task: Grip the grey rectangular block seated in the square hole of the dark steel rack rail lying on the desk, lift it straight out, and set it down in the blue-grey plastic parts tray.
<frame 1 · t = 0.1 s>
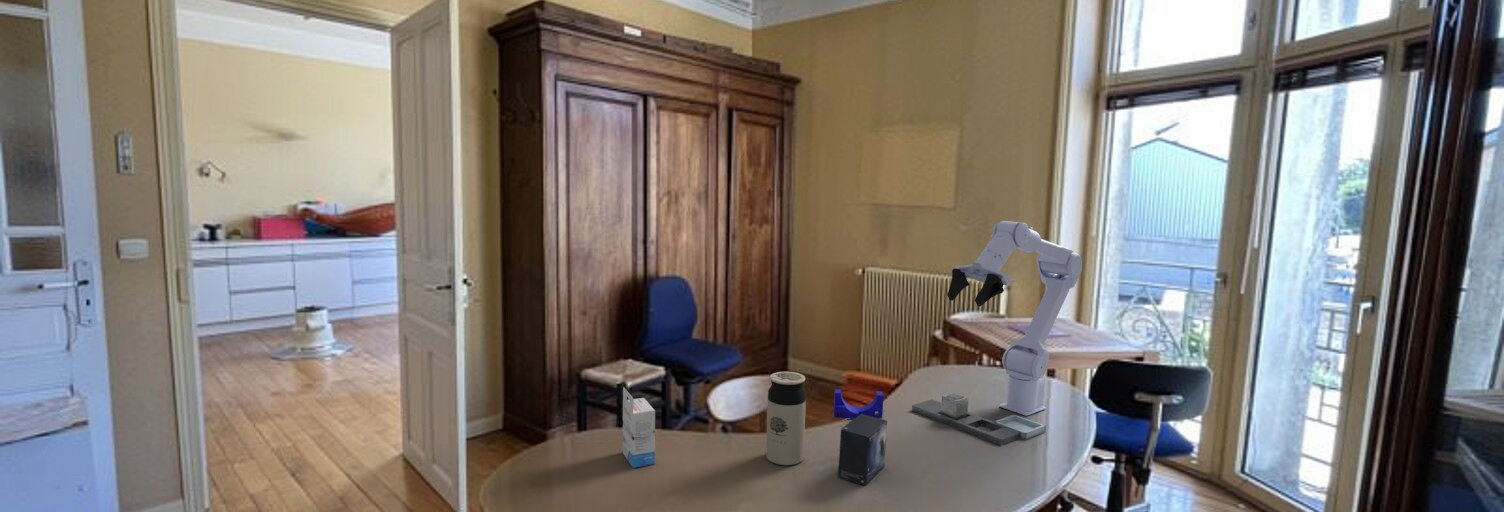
hand: (963, 300, 154), 32 cm above the table, tool tilted 50°, fingers open, 7 cm apart
travel mug: (784, 459, 142), on the table
rack rail: (963, 423, 164), on the table
ink box: (638, 459, 140), on the table
grey rectangular block: (953, 419, 166), resting in rack rail
blue cradle stand: (857, 416, 167), on the table
small box: (862, 473, 136), on the table
parts tray: (1019, 429, 160), on the table
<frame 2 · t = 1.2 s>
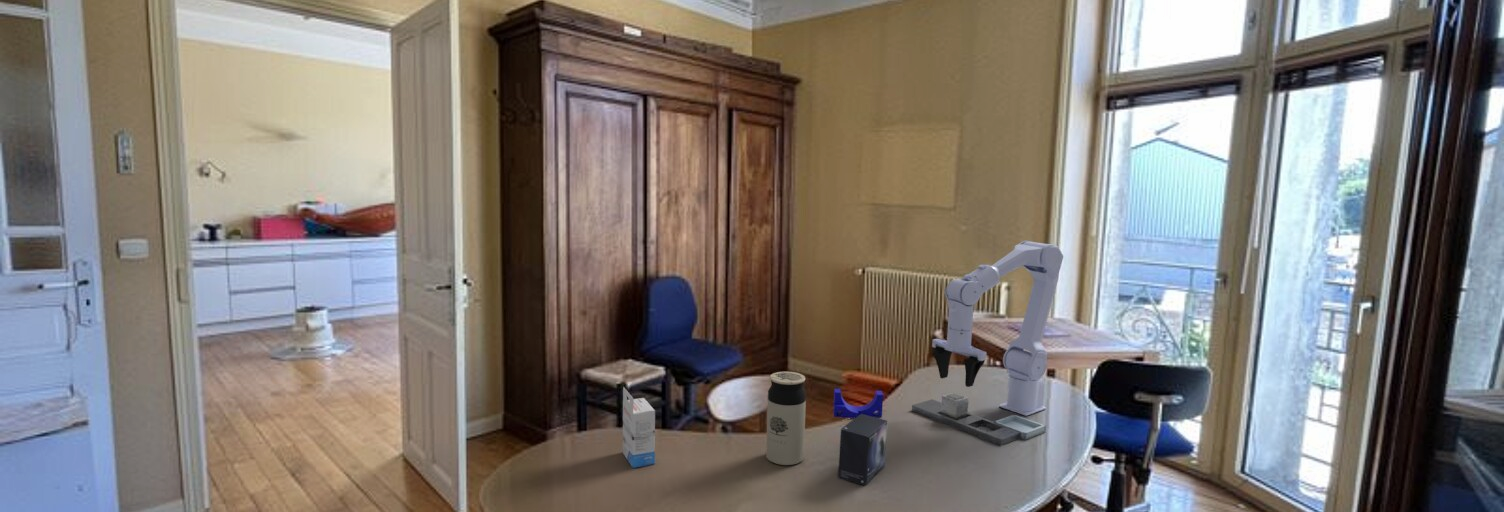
hand: (956, 381, 165), 10 cm above the table, tool pointing down, fingers open, 7 cm apart
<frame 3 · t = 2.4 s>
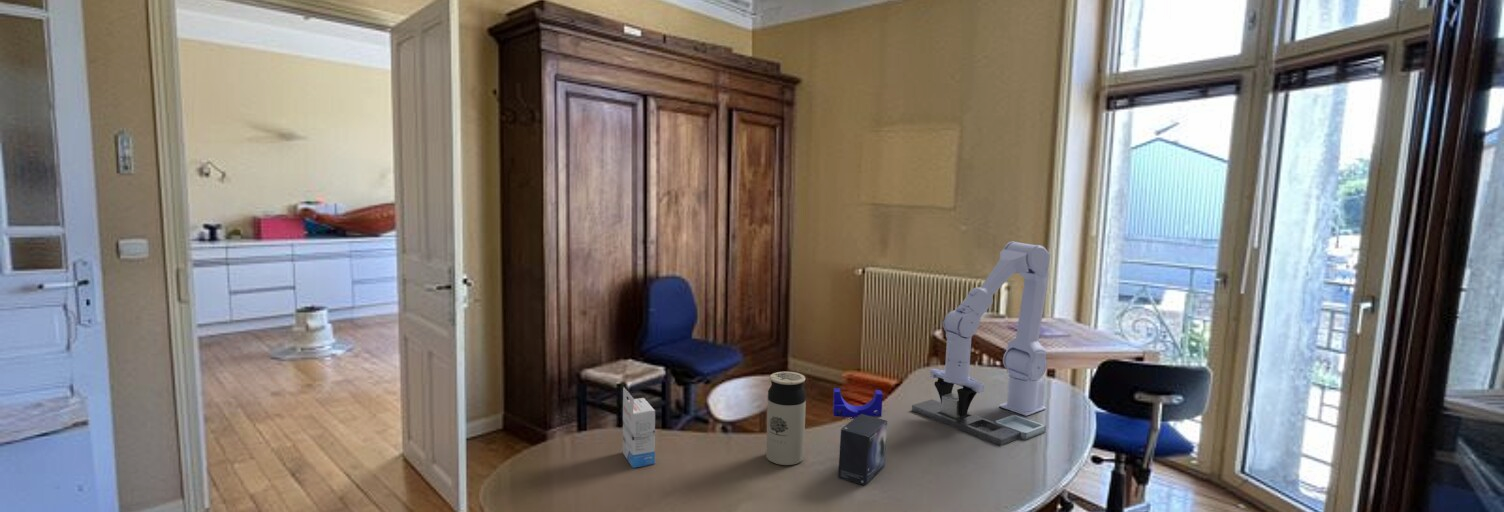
hand: (954, 412, 166), 2 cm above the table, tool pointing down, fingers closed on grey rectangular block, 4 cm apart
grey rectangular block: (953, 419, 166), resting in rack rail, touching gripper
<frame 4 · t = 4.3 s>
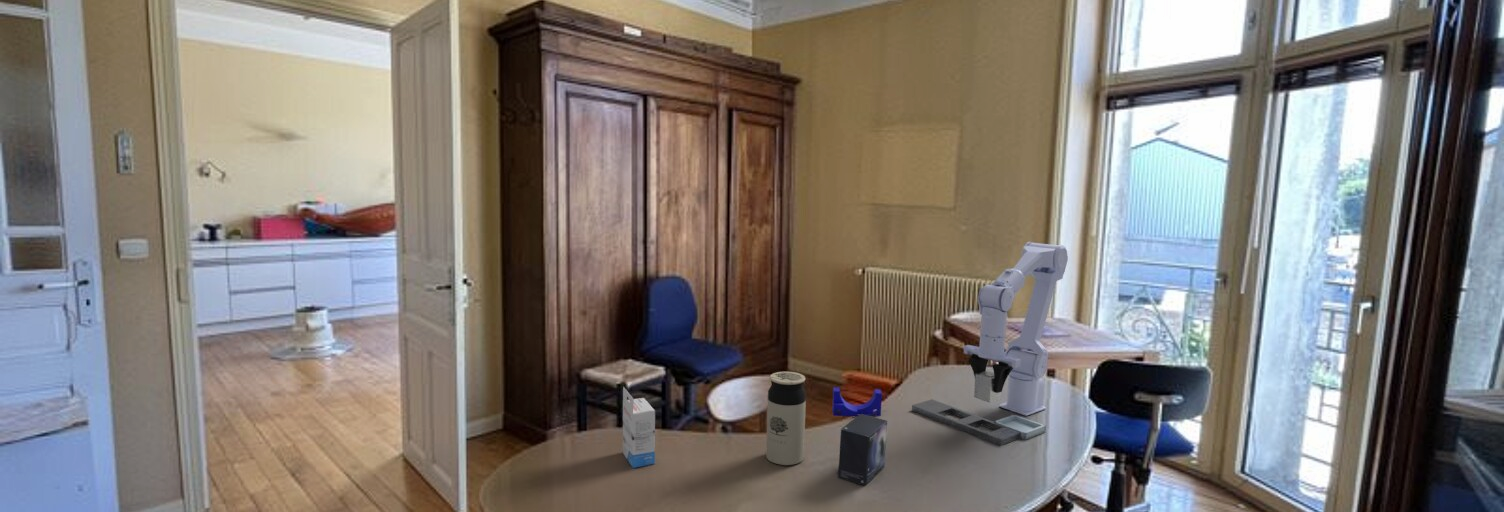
hand: (988, 388, 162), 9 cm above the table, tool pointing down, fingers closed on grey rectangular block, 4 cm apart
grey rectangular block: (987, 398, 162), point 7 cm above the table, touching gripper
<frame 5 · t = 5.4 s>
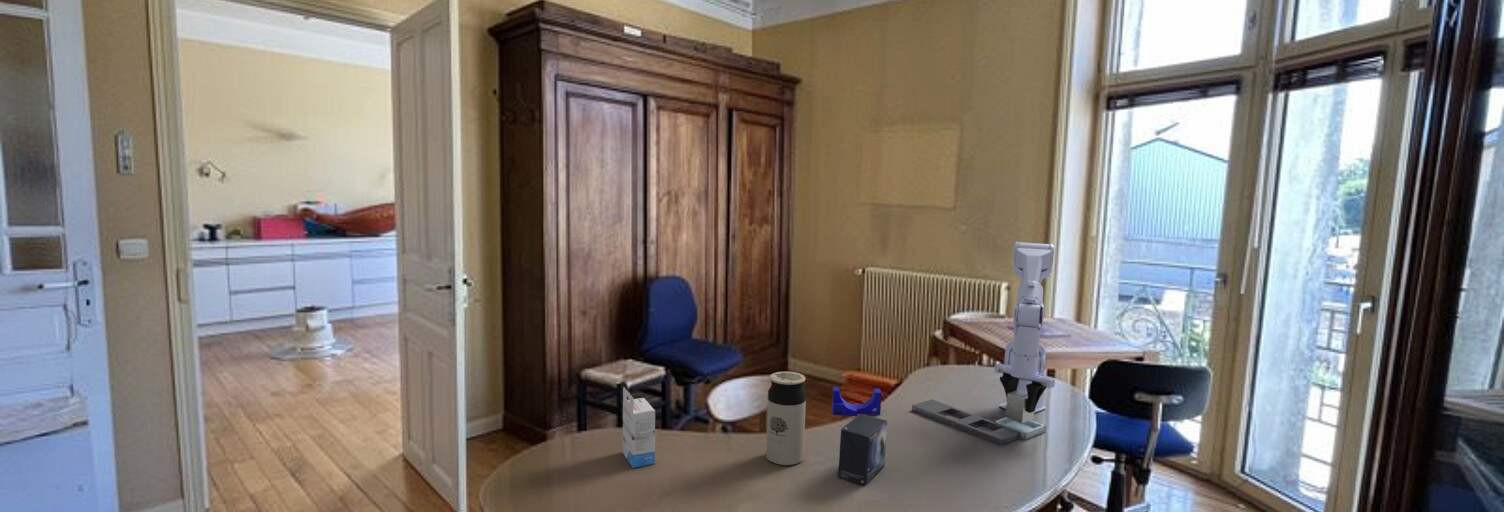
hand: (1021, 408, 160), 5 cm above the table, tool pointing down, fingers closed on grey rectangular block, 5 cm apart
grey rectangular block: (1019, 418, 160), point 3 cm above the table, touching gripper
when the fingers open (4 cm above the table, at t = 6.2 s): grey rectangular block stays where it is, resting on parts tray.
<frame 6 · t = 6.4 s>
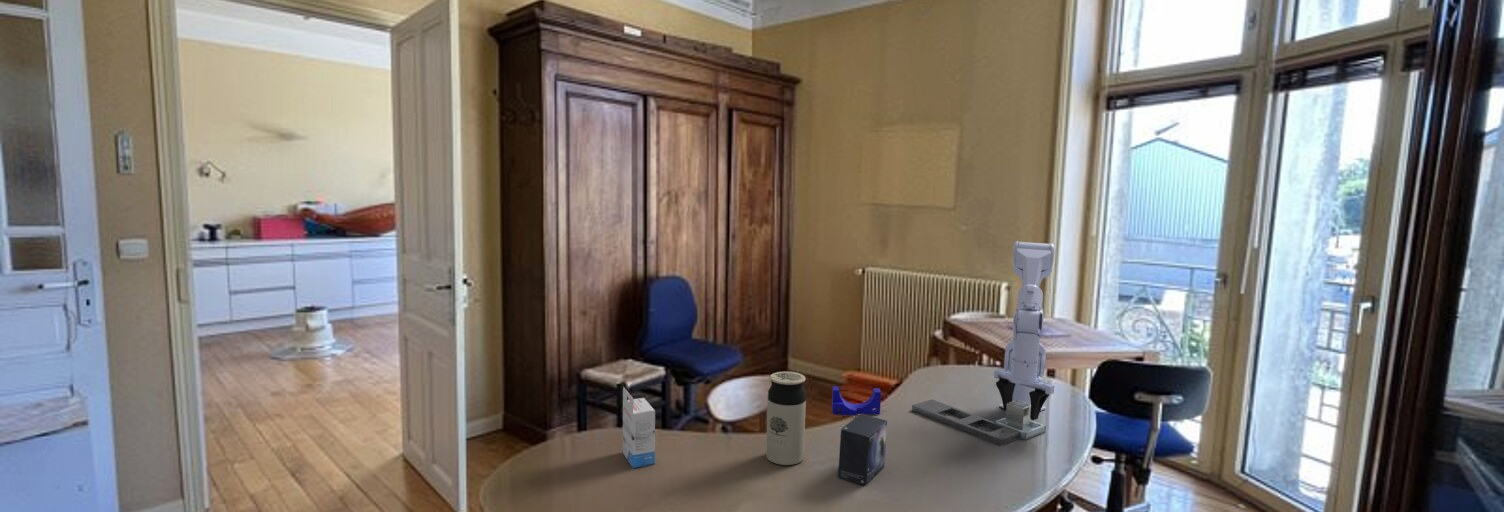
hand: (1020, 414, 160), 4 cm above the table, tool pointing down, fingers open, 6 cm apart
grey rectangular block: (1018, 428, 160), resting on parts tray
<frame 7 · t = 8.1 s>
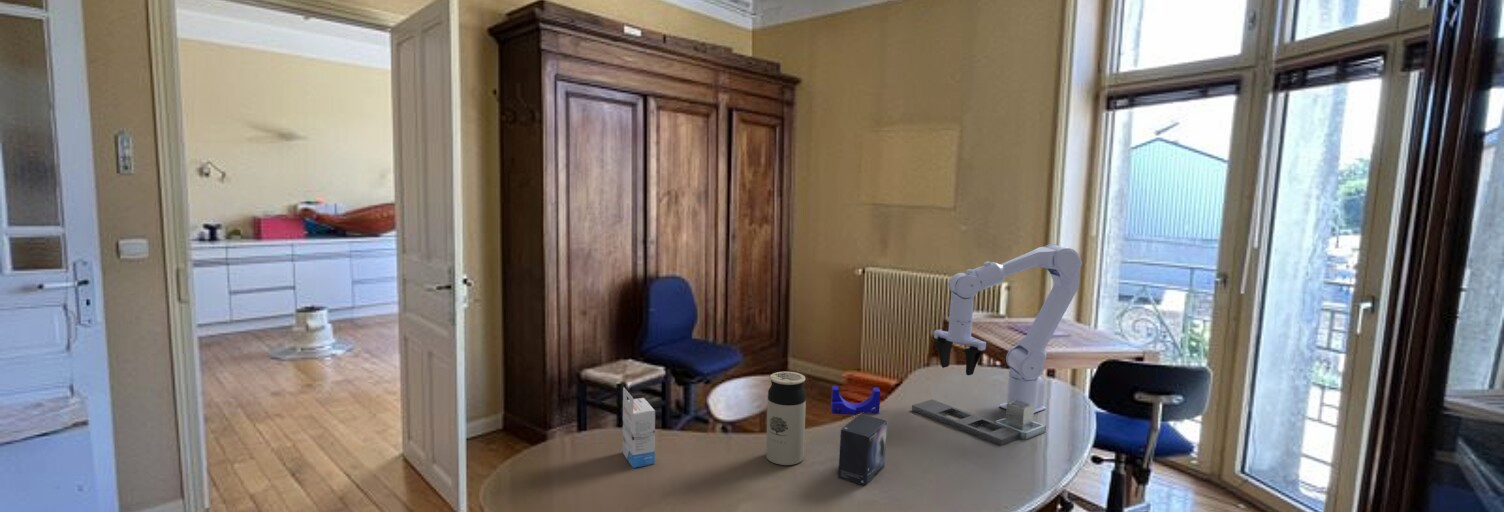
hand: (957, 370, 173), 10 cm above the table, tool pointing down, fingers open, 7 cm apart
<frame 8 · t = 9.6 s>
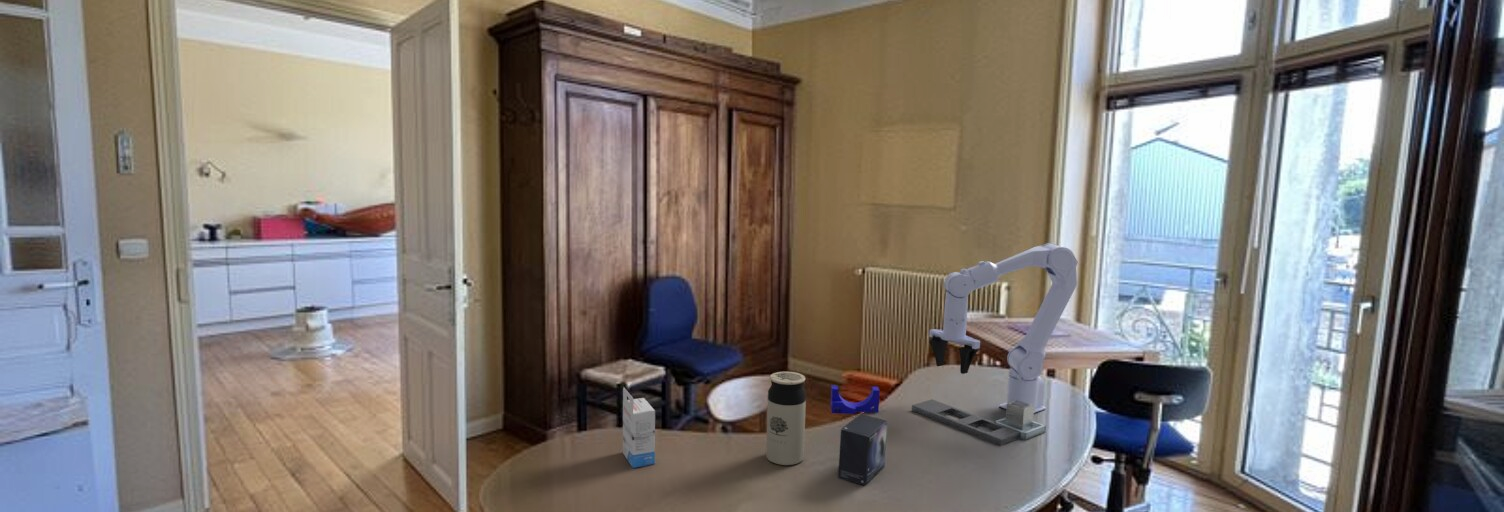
hand: (951, 369, 175), 10 cm above the table, tool pointing down, fingers open, 7 cm apart
at the end: grey rectangular block 0.3 cm off-centre on the parts tray, point 0.5 cm above the parts tray's base; grey rectangular block tilted 0°; the gripper is holding nothing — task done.
